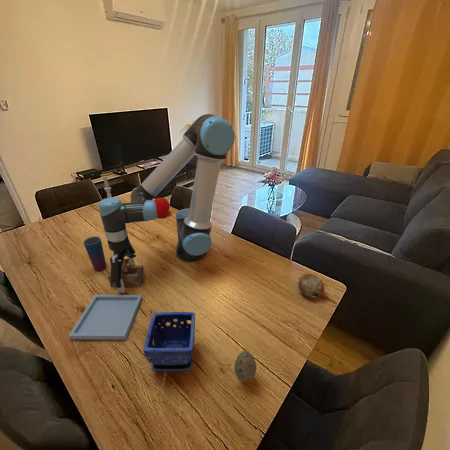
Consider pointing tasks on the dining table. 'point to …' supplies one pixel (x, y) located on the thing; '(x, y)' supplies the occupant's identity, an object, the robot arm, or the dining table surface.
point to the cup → (95, 252)
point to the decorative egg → (245, 366)
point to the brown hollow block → (131, 276)
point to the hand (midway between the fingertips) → (127, 280)
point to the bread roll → (311, 285)
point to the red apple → (162, 207)
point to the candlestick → (107, 187)
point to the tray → (107, 318)
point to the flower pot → (170, 341)
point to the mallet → (125, 266)
